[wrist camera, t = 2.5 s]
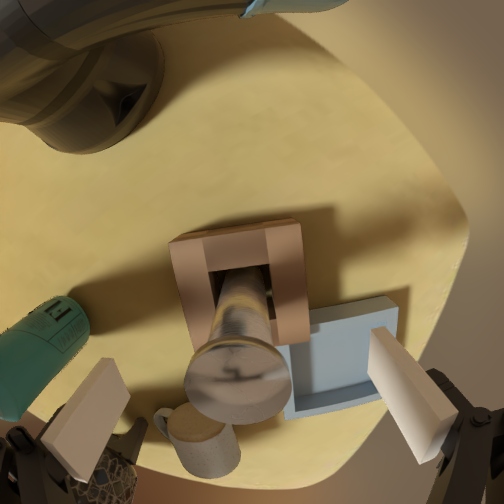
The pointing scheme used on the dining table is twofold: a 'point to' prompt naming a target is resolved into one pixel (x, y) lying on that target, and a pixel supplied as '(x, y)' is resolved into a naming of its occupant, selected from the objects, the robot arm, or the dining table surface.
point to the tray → (336, 357)
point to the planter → (113, 470)
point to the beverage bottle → (38, 352)
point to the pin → (239, 357)
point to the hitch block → (242, 255)
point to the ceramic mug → (200, 441)
